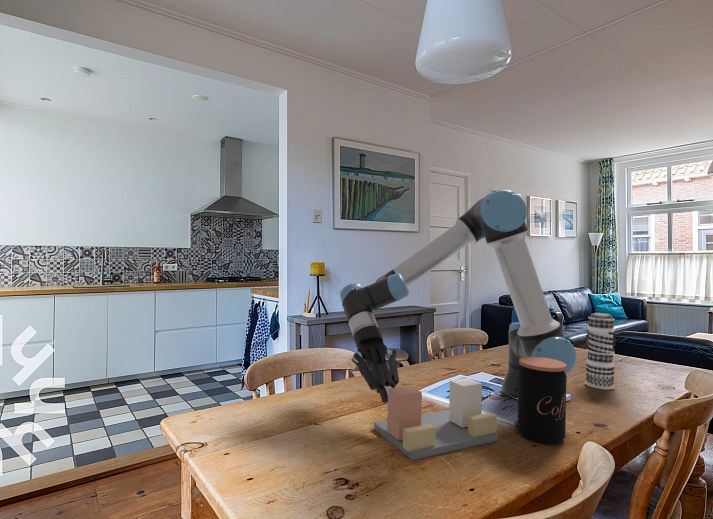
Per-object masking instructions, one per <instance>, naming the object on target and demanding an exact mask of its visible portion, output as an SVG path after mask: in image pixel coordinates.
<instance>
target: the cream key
mask: <svg viewBox="0 0 713 519" xmlns="http://www.w3.org/2000/svg"><path fill="white" fill-rule="evenodd" d="M448 398H449V400H448V402H449V403H448V405H449V407H448V408H449V409H448V410H449V420H450V421H452V422H453V423H455V424H457V425H458V426H460V427H462V428H463V427H468V417H469V416H474V415H480V414H482V406H483V405H482V404H483V401H482V400H483V382H479V381H477V380H474V379H472V378H470V377H466V378H465V377H464V378H457V379H450V380H449V397H448Z"/></svg>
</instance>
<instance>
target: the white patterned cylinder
mask: <svg viewBox="0 0 713 519" xmlns="http://www.w3.org/2000/svg"><path fill="white" fill-rule="evenodd" d="M587 318H588V324H587V329H586V330H585V337H586V338H587V339H586V340H585V342H586V345H585V348H586V350H585V351H586V352H587V359H586V364H585V367H586V368H585V370H586V371H587V372H585V376H586V377H585V380H586V381H585V385H586V384H587V385H586V386H588V387H590V388H595V389H599V390H614V388H615V387H614V384H615V382H614V380H615V376H614V375H615V372H614V371H615V367H614V363H615V362H614V355H615V351H616V349H615V348H614V346H616V343H615V341H617V339H616V338H615V337H614V336H616V335H617V333H616V331H615V325H614V324H615V322H614V321H615V320H616V319H615V318H613V316H612V315H611V314H609V313H601V312H597V313H596V312H594V313H591V314H590V316H587Z"/></svg>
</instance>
